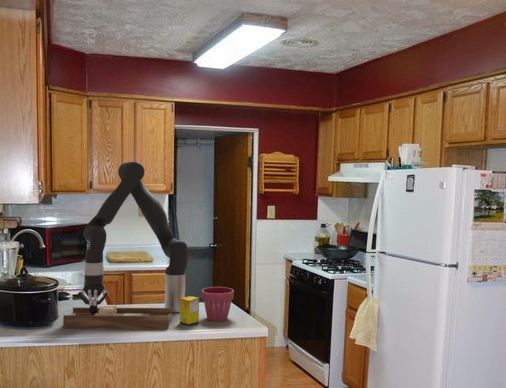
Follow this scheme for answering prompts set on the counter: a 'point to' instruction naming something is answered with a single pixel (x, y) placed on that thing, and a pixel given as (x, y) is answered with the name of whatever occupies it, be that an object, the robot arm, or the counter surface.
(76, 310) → the walnut track
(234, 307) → the counter surface
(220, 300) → the plant pot
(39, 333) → the counter surface
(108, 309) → the maple block
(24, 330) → the counter surface
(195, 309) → the supplement box
